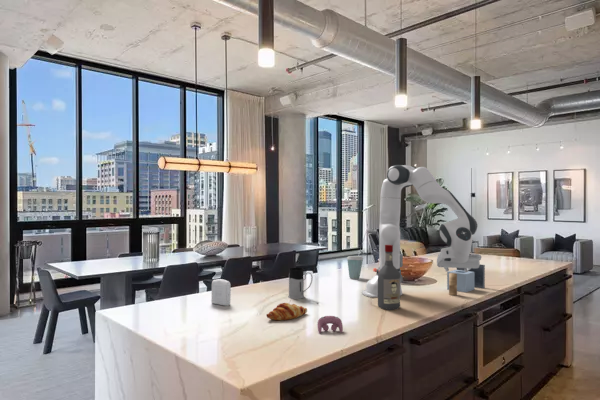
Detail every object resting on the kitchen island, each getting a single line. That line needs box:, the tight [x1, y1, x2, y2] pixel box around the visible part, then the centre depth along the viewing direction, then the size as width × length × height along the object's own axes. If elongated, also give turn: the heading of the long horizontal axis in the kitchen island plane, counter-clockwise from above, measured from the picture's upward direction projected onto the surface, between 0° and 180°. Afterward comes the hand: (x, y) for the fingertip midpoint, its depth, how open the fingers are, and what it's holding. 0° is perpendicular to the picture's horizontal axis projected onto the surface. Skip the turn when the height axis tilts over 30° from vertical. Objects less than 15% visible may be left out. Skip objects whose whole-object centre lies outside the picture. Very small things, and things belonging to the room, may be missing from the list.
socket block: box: [446, 269, 475, 293], centre depth 246 cm, size 11×11×10 cm
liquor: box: [377, 245, 401, 311], centre depth 207 cm, size 9×9×30 cm
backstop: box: [456, 264, 486, 289], centre depth 249 cm, size 20×16×14 cm
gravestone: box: [210, 278, 232, 307], centre depth 214 cm, size 10×4×12 cm, turn 60°
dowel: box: [448, 273, 458, 297], centre depth 232 cm, size 4×4×12 cm
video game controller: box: [316, 315, 344, 334], centre depth 170 cm, size 10×5×7 cm, turn 92°
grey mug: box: [288, 267, 313, 300], centre depth 228 cm, size 9×14×15 cm, turn 59°
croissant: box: [266, 302, 308, 321], centre depth 190 cm, size 21×10×8 cm, turn 127°
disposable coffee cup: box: [346, 255, 364, 280], centre depth 284 cm, size 11×11×15 cm
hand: (456, 270), depth 221 cm, fingers open, 8 cm apart
